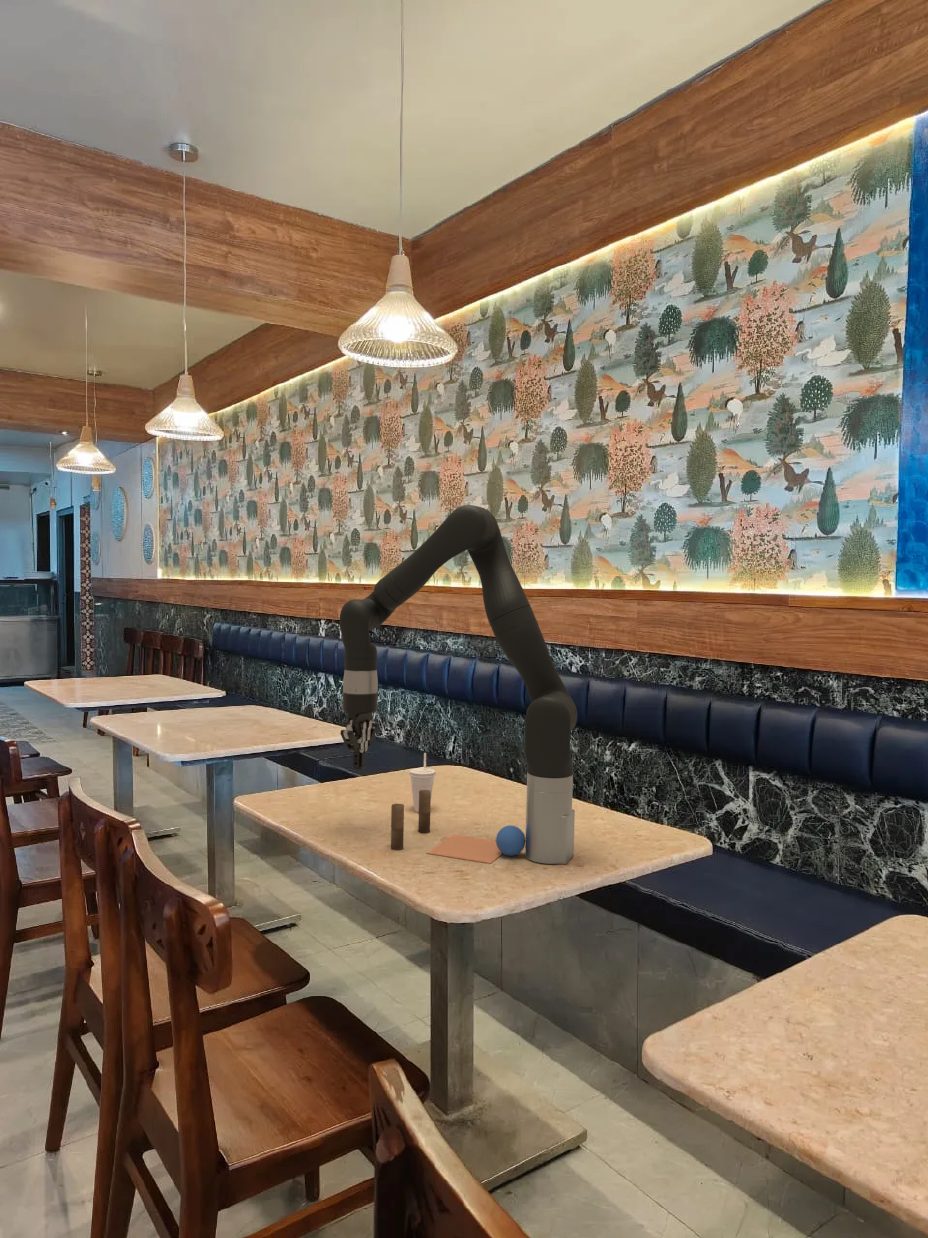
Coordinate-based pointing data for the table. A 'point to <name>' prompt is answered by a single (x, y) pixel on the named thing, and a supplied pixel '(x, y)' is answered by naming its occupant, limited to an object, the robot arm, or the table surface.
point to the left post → (397, 826)
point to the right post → (424, 811)
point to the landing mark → (468, 849)
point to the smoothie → (421, 782)
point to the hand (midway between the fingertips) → (359, 768)
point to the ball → (510, 840)
